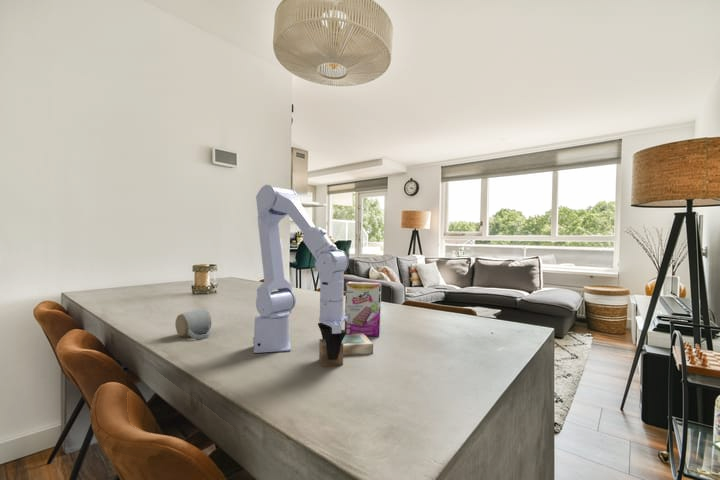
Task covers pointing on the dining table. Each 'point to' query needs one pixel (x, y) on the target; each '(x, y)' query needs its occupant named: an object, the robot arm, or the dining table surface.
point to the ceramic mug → (194, 324)
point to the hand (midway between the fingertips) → (330, 355)
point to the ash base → (356, 344)
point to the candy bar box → (363, 308)
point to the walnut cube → (324, 357)
